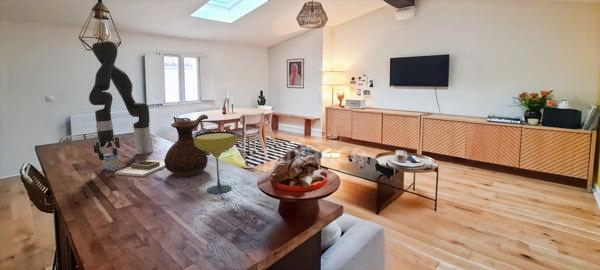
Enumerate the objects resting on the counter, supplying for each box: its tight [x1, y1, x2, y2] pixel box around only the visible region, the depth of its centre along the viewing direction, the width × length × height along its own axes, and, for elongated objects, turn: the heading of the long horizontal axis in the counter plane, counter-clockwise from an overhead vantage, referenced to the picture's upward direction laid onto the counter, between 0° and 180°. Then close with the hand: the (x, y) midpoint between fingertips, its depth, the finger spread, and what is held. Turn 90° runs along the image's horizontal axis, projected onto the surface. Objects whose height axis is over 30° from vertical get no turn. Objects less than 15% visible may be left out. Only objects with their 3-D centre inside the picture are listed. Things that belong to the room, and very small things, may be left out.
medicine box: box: [101, 153, 120, 172], centre depth 178 cm, size 8×4×9 cm, turn 62°
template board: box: [114, 159, 166, 177], centre depth 179 cm, size 24×18×3 cm
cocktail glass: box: [193, 130, 238, 195], centre depth 143 cm, size 18×18×25 cm
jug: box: [163, 114, 209, 178], centre depth 167 cm, size 22×22×30 cm
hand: (108, 158), depth 177 cm, fingers open, 8 cm apart
